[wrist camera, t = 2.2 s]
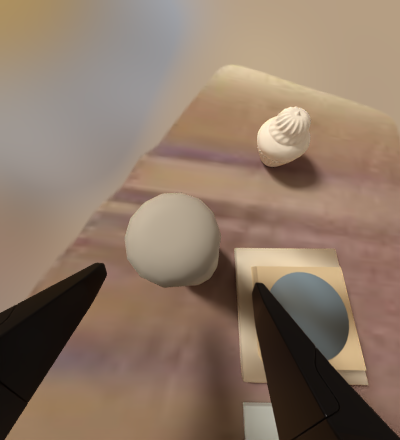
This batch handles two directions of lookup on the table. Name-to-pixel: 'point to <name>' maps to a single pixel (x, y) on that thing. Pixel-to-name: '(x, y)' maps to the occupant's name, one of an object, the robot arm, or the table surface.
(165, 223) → the beige mushroom knob
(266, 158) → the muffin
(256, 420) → the pale grey rectangular tile
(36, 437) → the table surface
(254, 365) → the foundation
